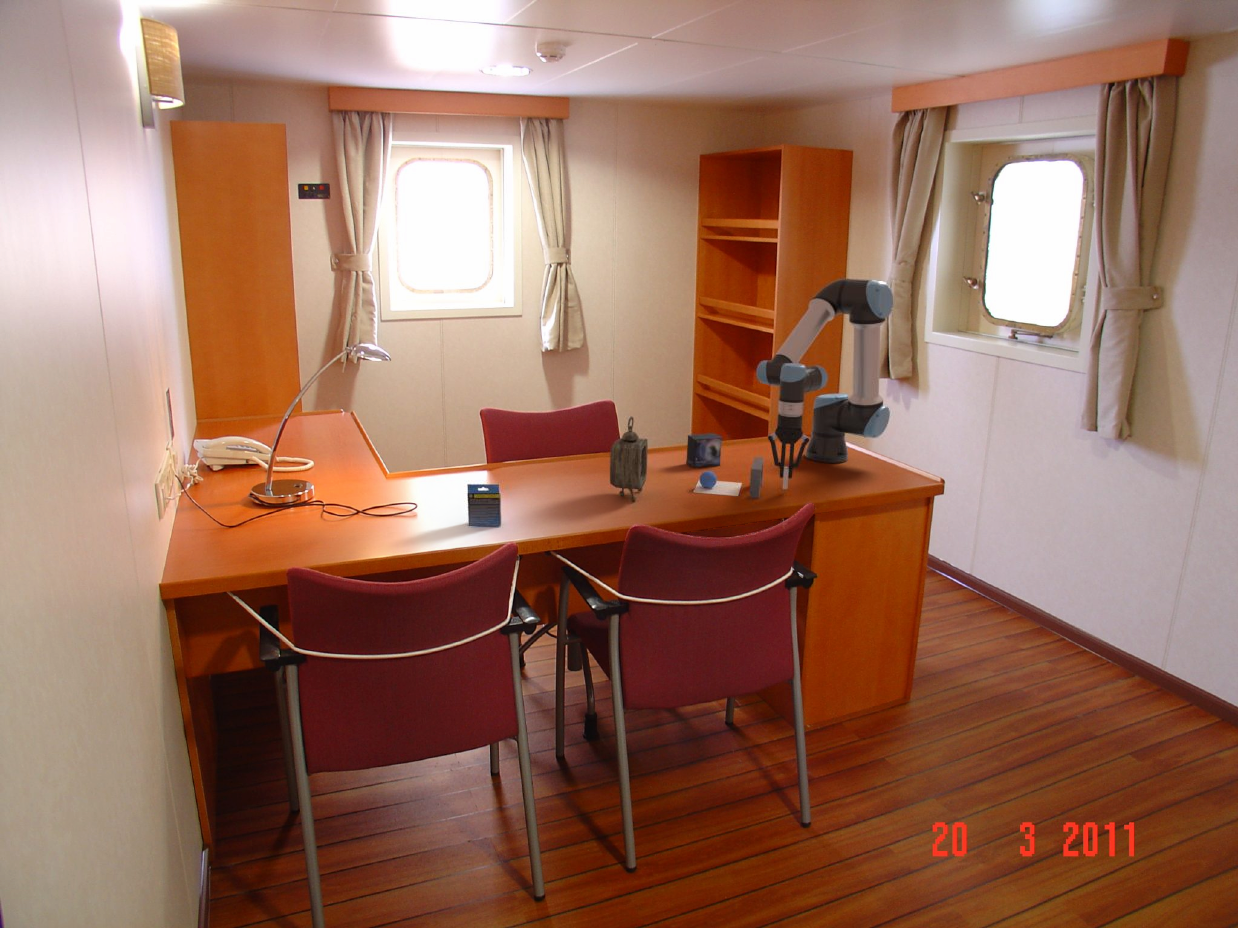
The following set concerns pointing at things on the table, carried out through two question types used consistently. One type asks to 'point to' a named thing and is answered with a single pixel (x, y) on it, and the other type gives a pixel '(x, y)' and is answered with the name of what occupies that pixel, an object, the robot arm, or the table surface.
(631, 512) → the table surface
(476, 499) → the label tape cartridge
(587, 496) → the table surface
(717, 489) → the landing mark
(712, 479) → the ball
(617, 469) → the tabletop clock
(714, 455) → the small box
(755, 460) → the bridge
